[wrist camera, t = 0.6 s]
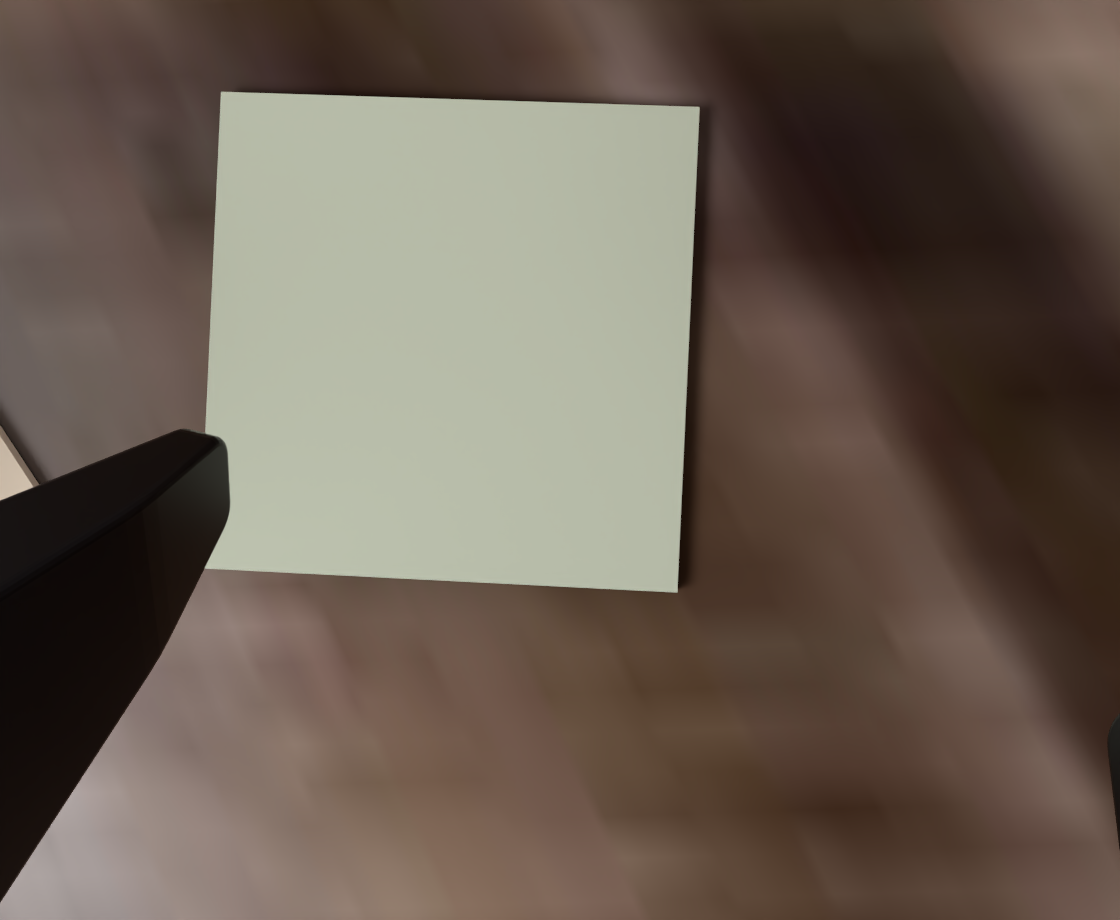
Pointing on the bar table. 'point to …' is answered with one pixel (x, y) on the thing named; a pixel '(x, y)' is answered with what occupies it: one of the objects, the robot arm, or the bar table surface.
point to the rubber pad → (453, 337)
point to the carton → (13, 469)
